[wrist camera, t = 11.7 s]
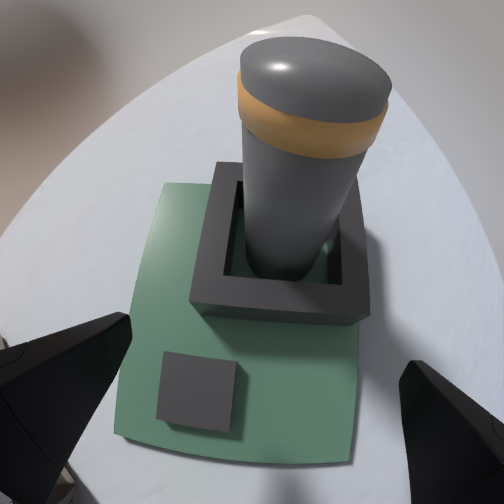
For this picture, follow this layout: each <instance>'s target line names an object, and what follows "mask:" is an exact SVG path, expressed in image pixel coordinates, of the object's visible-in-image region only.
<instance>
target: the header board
mask: <svg viewBox="0 0 504 504" xmlns="http://www.w3.org/2000/svg"><path fill="white" fill-rule="evenodd" d="M369 315H370V295H369V277H368V262H367V251H366V240H365V231H364V222H363V214H362V207H361V200H360V193H359V187H358V181H357V175H356V177H355V179H354V182H353V184H352V186H351V188H350V190H349V193H348V195H347V197H346V199H345V201H344V203H343V206H342V208H341V210H340V212H339V214H338V216H337V218H336V220H335V222H334V224H333V227H332V229H331V231H330V233H329V235H328V237H327V239H326V241H325V243H324V245H323V247H322V249H321V251H320V253H319V255H318V257H317V259H316V260H315V262H314V264H313V266H312V268H311V270H310V271H309V273H308V274H307V275H306V276H305V277H304V278H302V279H301V280H299V281H298V282H293V281H281V280H268V279H260V278H259V277H258V276H257V275H256V274H255V273H254V272H253V271H252V270H251V268H250V267H249V265H248V262H247V259H246V249H245V218H244V185H243V163H236V162H217V163H216V167H215V172H214V176H213V180H212V184H194V183H164V186H163V189H162V192H161V195H160V198H159V201H158V204H157V207H156V210H155V214H154V217H153V220H152V224H151V227H150V231H149V234H148V238H147V241H146V245H145V248H144V252H143V256H142V260H141V264H140V268H139V272H138V276H137V280H136V285H135V289H134V294H133V298H132V303H131V308H130V313H129V316H130V318H131V326H132V334H133V338H132V342H131V344H130V347H129V349H128V351H127V353H126V355H125V357H124V359H123V361H122V364H121V366H120V373H119V381H118V389H117V398H116V409H115V421H114V434H117V435H120V436H123V437H126V438H129V439H133V440H136V441H139V442H143V443H146V444H150V445H154V446H158V447H162V448H166V449H170V450H174V451H179V452H184V453H189V454H194V455H200V456H206V457H212V458H219V459H227V460H236V461H246V462H259V463H282V464H306V463H329V462H342V461H349V455H350V448H351V440H352V432H353V423H354V413H355V402H356V388H357V370H358V332H359V321H361V320H362V319H364V318H366V317H367V316H369Z"/></svg>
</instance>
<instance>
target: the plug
mask: <svg viewBox="0 0 504 504" xmlns="http://www.w3.org/2000/svg"><path fill="white" fill-rule="evenodd" d="M240 67H241V69H240V71H239V73H238V77H237V85H238V111H239V116H240V119H241V121H242V150H243V185H244V218H245V249H246V259H247V262H248V265H249V267H250V268H251V270H252V271H253V272H254V273H255V274H256V275H257V276H258V277H259V278H260V279H268V280H281V281H293V282H298V281H299V280H301V279H302V278H304V277H305V276H306V275H307V274H308V273H309V271H310V270H311V268H312V266H313V264H314V262H315V260H316V259H317V257H318V255H319V253H320V251H321V249H322V247H323V245H324V243H325V241H326V239H327V237H328V235H329V233H330V231H331V229H332V227H333V224H334V222H335V220H336V218H337V216H338V214H339V212H340V210H341V208H342V206H343V203H344V201H345V199H346V197H347V195H348V193H349V190H350V188H351V186H352V184H353V182H354V179H355V177H356V175H357V173H358V170H359V168H360V166H361V164H362V161H363V159H364V157H365V154H366V152H367V150H368V148H369V147H370V146H371V145H372V144H373V143H374V141H375V139H376V136H377V134H378V131H379V129H380V127H381V124H382V122H383V119H384V117H385V114H386V112H387V109H388V97H389V95H390V92H391V89H392V83H391V80H390V78H389V76H388V75H387V73H386V72H385V71H384V70H383V69H382V68H381V67H380V66H379V65H378V64H376V63H375V62H374V61H372V60H371V59H369V58H368V57H366V56H364V55H363V54H361V53H359V52H357V51H354V50H352V49H350V48H347V47H345V46H342V45H339V44H336V43H332V42H329V41H324V40H319V39H314V38H306V37H277V38H270V39H265V40H261V41H258V42H255V43H253V44H251V45H249V46H248V47H247V48H245V49H244V50H243V52H242V53H241V57H240Z"/></svg>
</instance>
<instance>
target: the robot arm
mask: <svg viewBox="0 0 504 504" xmlns="http://www.w3.org/2000/svg"><path fill="white" fill-rule="evenodd" d="M132 338H133V334H132V326H131V318H130V316H129V315H128V314H125V313H122V312H115V313H112V314H109V315H107V316H104V317H101V318H98V319H95V320H92V321H89V322H86V323H83V324H80V325H77V326H74V327H71V328H68V329H65V330H62V331H59V332H56V333H53V334H50V335H47V336H44V337H41V338H37V339H34V340H31V341H29V342H25V343H22V344H19V345H16V346H12V347H9V348H6V349H2V350H0V504H11V503H12V501H14V502H16V503H17V504H46V503H47V501H48V499H49V497H50V495H51V493H52V491H53V489H54V487H55V485H56V483H57V481H58V479H59V477H60V475H61V472H62V471H63V469H64V467H65V465H66V463H67V461H68V459H69V457H70V455H71V453H72V452H73V450H74V448H75V446H76V444H77V442H78V441H79V439H80V437H81V435H82V433H83V432H84V430H85V428H86V426H87V424H88V423H89V421H90V419H91V417H92V416H93V414H94V412H95V410H96V409H97V407H98V405H99V404H100V402H101V400H102V399H103V397H104V395H105V393H106V392H107V390H108V388H109V387H110V385H111V383H112V382H113V380H114V378H115V376H116V374H117V372H118V370H119V368H120V366H121V364H122V361H123V359H124V357H125V355H126V353H127V351H128V349H129V347H130V344H131V342H132ZM399 393H400V404H401V418H402V426H403V433H404V439H405V446H406V453H407V461H408V470H409V479H410V491H411V504H504V424H503V423H502V422H501V421H499V420H498V419H497V418H496V417H494V416H493V415H491V414H490V413H489V412H488V411H487V410H485V409H484V408H483V407H482V406H480V405H479V404H478V403H476V402H475V401H474V400H473V399H471V398H470V397H469V396H467V395H466V394H465V393H464V392H462V391H461V390H460V389H458V388H457V387H456V386H455V385H453V384H452V383H451V382H449V381H448V380H447V379H446V378H444V377H443V376H442V375H440V374H439V373H438V372H436V371H435V370H434V369H432V368H431V367H430V366H429V365H427V364H426V363H425V362H423V361H421V360H411V361H410V362H409V363H408V365H407V367H406V368H405V370H404V372H403V374H402V376H401V377H400V380H399Z"/></svg>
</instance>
